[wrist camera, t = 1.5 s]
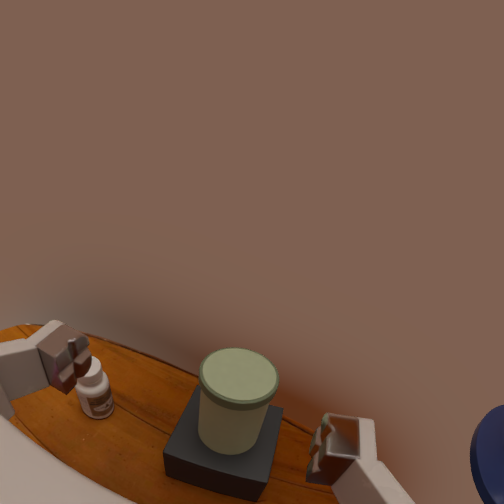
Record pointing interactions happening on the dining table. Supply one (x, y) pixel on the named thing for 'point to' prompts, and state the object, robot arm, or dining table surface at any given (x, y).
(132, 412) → the dining table surface
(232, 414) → the lidded cream canister
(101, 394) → the pill bottle
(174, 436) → the dark grey square box
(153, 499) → the dining table surface
